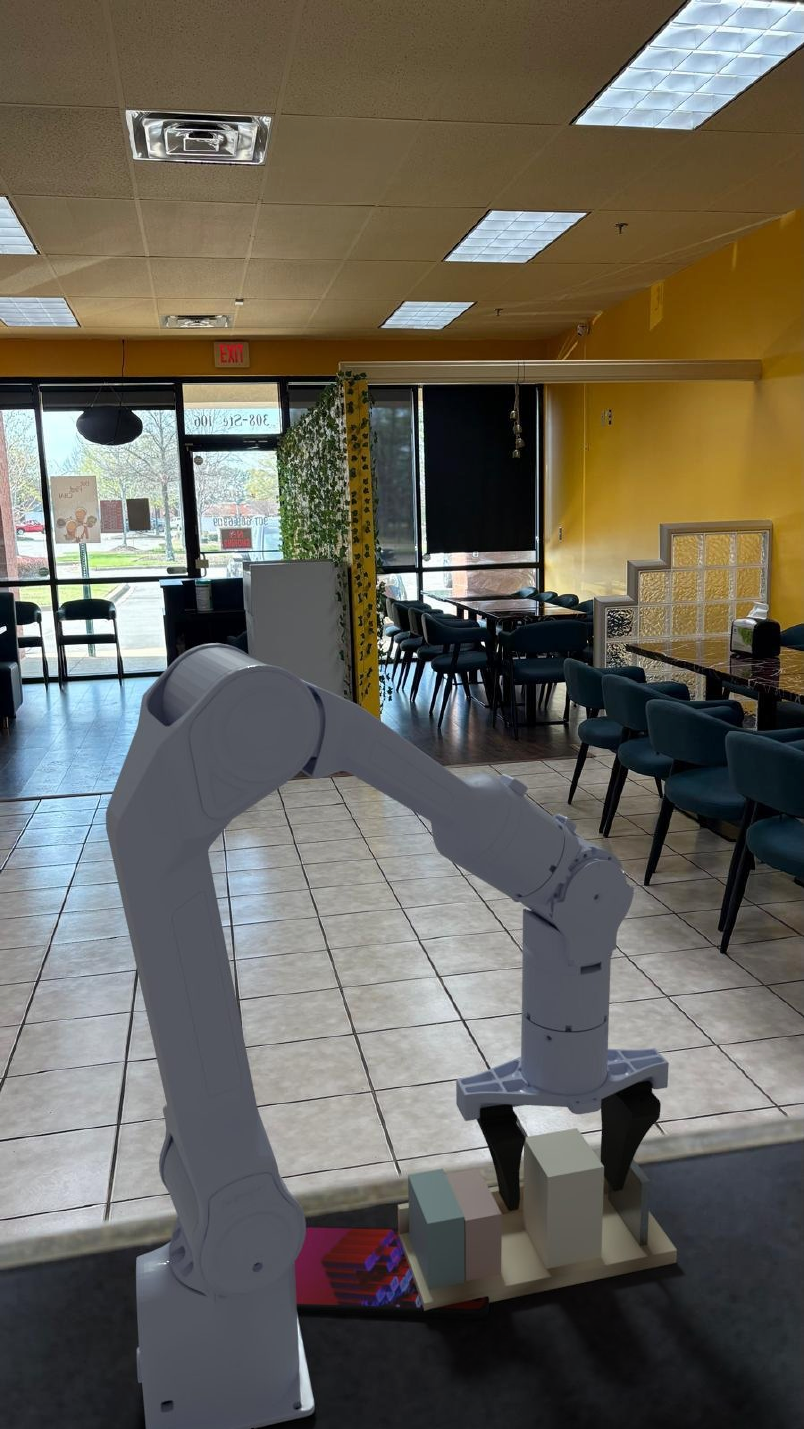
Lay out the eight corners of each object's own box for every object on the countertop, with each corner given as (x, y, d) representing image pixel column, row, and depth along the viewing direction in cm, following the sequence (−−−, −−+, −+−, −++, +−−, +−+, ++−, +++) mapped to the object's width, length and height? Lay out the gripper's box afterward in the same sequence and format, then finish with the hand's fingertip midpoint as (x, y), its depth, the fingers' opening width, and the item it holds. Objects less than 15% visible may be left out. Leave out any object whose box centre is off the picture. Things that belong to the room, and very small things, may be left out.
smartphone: (280, 1223, 74) (487, 1228, 73) (281, 1234, 74) (487, 1239, 73) (258, 1306, 67) (489, 1313, 65) (259, 1317, 67) (489, 1324, 66)
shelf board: (424, 1316, 66) (423, 1276, 65) (398, 1241, 73) (397, 1204, 72) (676, 1262, 70) (678, 1224, 70) (630, 1196, 77) (631, 1161, 76)
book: (546, 1268, 68) (547, 1177, 67) (522, 1224, 73) (523, 1137, 71) (601, 1257, 69) (604, 1166, 68) (575, 1214, 74) (577, 1128, 72)
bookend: (639, 1246, 70) (641, 1182, 69) (608, 1198, 75) (609, 1138, 74) (647, 1244, 70) (650, 1180, 69) (615, 1197, 75) (617, 1137, 74)
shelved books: (428, 1290, 67) (427, 1223, 66) (409, 1237, 72) (408, 1174, 70) (501, 1274, 68) (502, 1209, 67) (478, 1224, 73) (478, 1162, 72)
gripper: (479, 1057, 62) (479, 1251, 65) (695, 1025, 65) (685, 1210, 68) (446, 1003, 69) (447, 1180, 71) (643, 976, 72) (636, 1146, 75)
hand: (561, 1191), depth 70 cm, fingers open, 7 cm apart
